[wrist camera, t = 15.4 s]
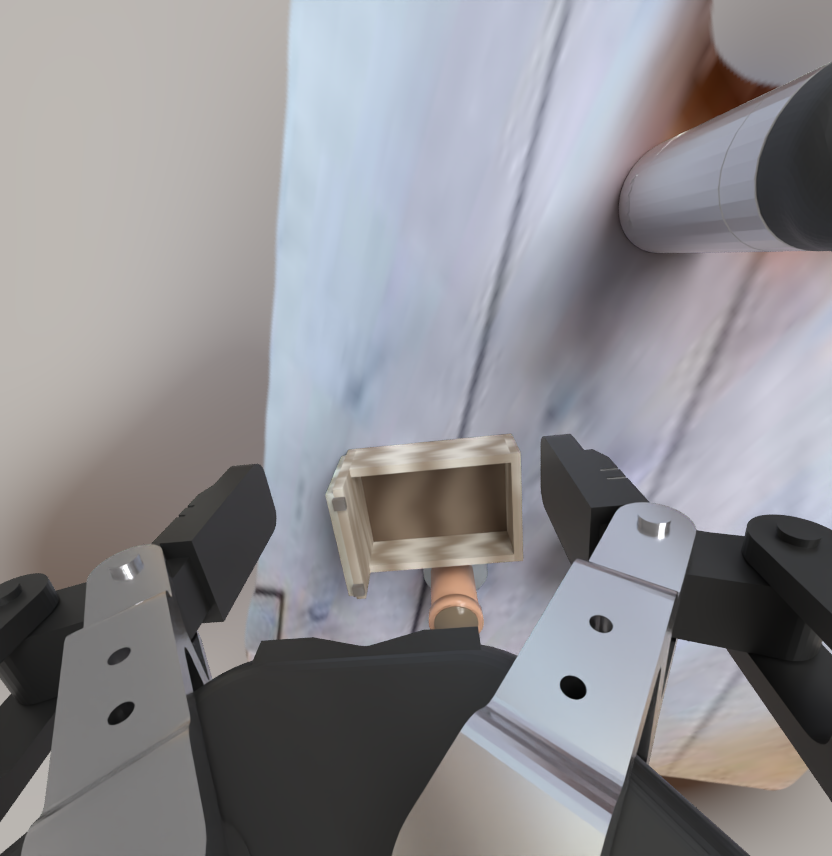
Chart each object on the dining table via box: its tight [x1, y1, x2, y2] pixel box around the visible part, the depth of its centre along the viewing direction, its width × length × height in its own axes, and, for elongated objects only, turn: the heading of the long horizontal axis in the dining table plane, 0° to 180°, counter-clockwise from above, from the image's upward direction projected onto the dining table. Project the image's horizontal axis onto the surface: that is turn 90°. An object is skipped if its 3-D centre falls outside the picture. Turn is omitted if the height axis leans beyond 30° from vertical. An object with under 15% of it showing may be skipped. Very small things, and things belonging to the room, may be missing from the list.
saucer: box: [423, 564, 487, 591], centre depth 54 cm, size 8×8×1 cm
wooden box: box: [325, 434, 523, 599], centre depth 46 cm, size 20×14×10 cm
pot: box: [429, 565, 484, 633], centre depth 50 cm, size 6×6×8 cm
